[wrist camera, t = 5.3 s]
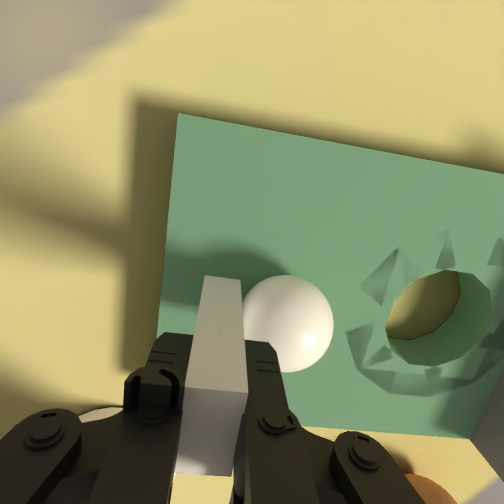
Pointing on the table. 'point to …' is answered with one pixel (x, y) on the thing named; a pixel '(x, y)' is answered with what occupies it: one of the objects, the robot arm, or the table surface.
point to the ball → (289, 320)
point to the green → (350, 270)
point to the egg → (430, 490)
